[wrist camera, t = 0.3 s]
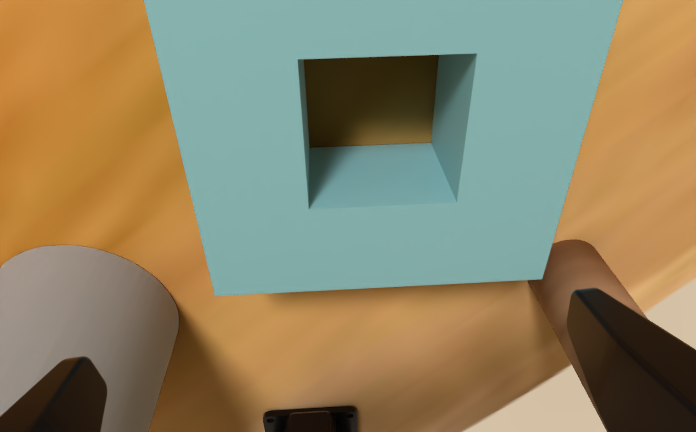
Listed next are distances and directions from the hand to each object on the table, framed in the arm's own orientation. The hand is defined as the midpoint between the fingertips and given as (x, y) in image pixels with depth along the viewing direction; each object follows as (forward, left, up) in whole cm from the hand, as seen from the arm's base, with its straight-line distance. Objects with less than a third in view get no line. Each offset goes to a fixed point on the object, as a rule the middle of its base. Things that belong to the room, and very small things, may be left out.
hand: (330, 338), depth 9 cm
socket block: (0, -2, -14) cm, 14 cm away
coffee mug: (-14, +15, -14) cm, 25 cm away
